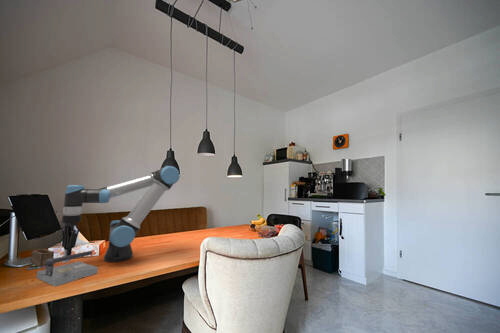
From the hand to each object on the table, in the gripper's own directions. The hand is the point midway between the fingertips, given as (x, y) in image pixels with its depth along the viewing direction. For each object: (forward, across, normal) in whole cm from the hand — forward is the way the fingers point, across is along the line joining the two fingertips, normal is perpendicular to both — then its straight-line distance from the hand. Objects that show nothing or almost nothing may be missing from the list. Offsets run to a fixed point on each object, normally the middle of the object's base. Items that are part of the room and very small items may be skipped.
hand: (66, 261), depth 109 cm
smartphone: (+6, -24, -1) cm, 25 cm away
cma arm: (-3, +6, -1) cm, 7 cm away
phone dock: (+5, -24, -1) cm, 25 cm away
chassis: (+5, +6, -1) cm, 8 cm away
